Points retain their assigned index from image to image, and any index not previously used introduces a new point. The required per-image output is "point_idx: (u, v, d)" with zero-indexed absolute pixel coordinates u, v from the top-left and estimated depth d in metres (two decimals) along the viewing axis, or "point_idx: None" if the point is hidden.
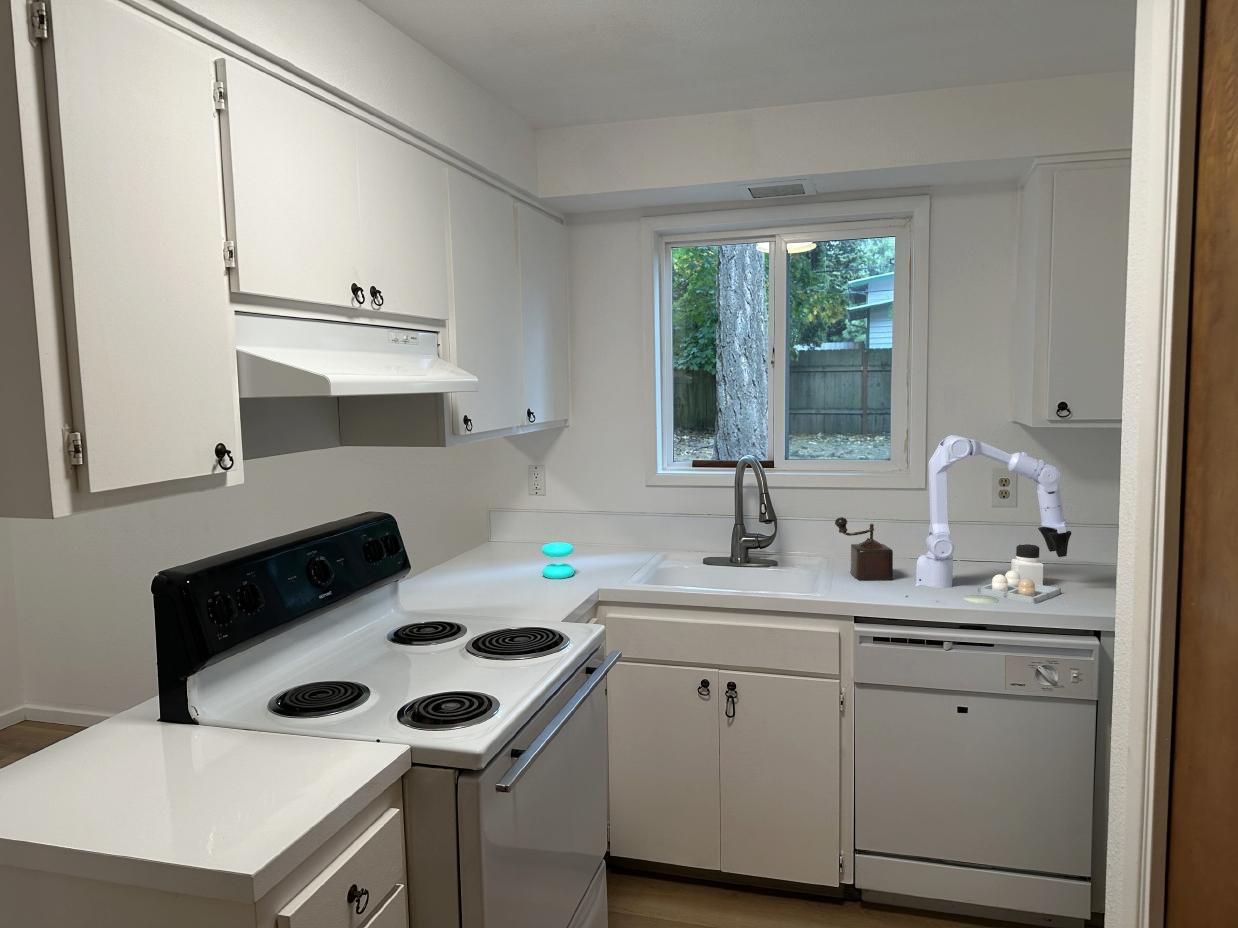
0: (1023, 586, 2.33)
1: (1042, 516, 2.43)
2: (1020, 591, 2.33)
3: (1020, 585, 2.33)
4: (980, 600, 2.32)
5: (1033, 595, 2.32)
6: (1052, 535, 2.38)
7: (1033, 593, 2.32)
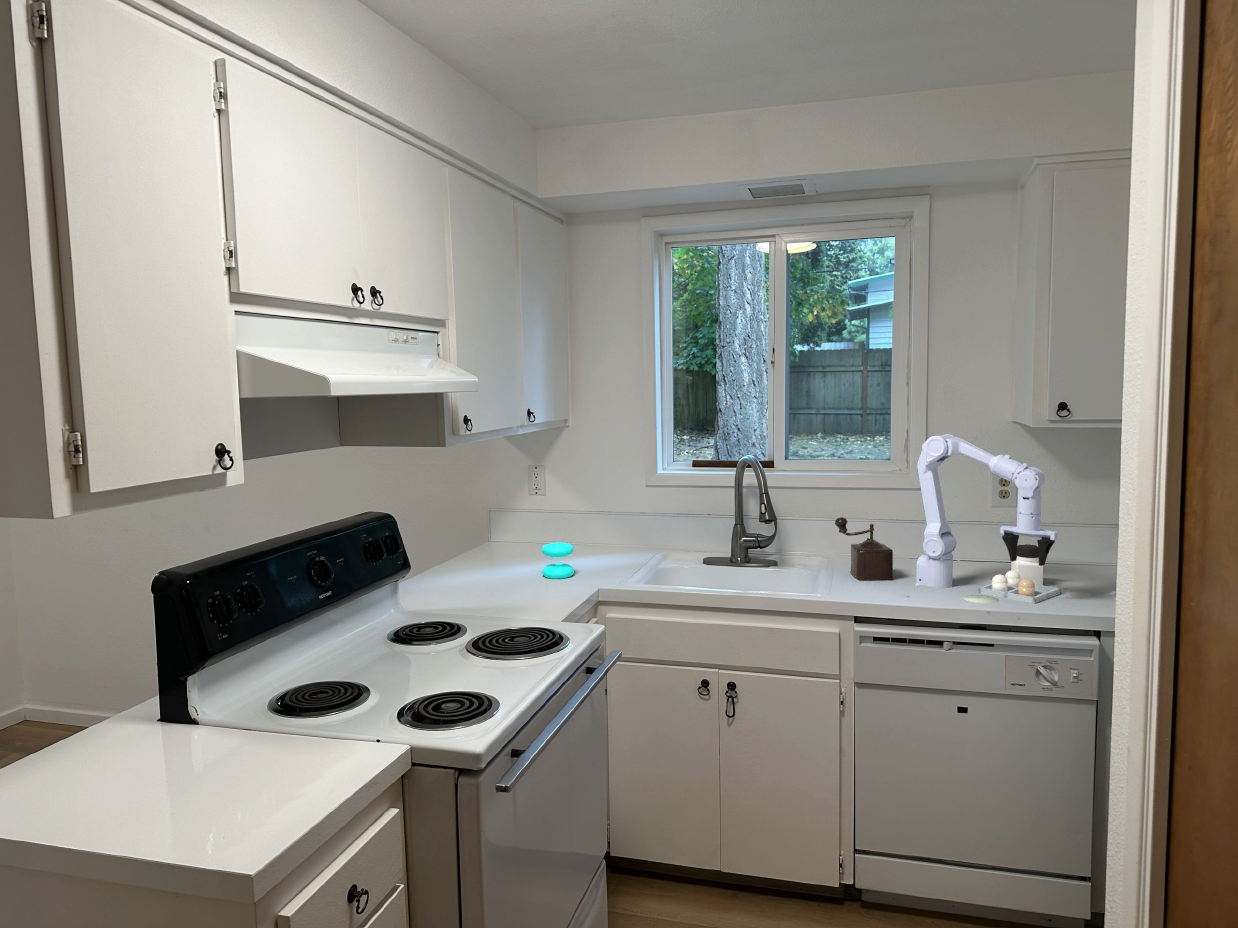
0: (1023, 586, 2.33)
1: (1026, 523, 2.30)
2: (1020, 591, 2.33)
3: (1020, 585, 2.33)
4: (980, 600, 2.32)
5: (1033, 595, 2.32)
6: (1047, 542, 2.27)
7: (1033, 593, 2.32)
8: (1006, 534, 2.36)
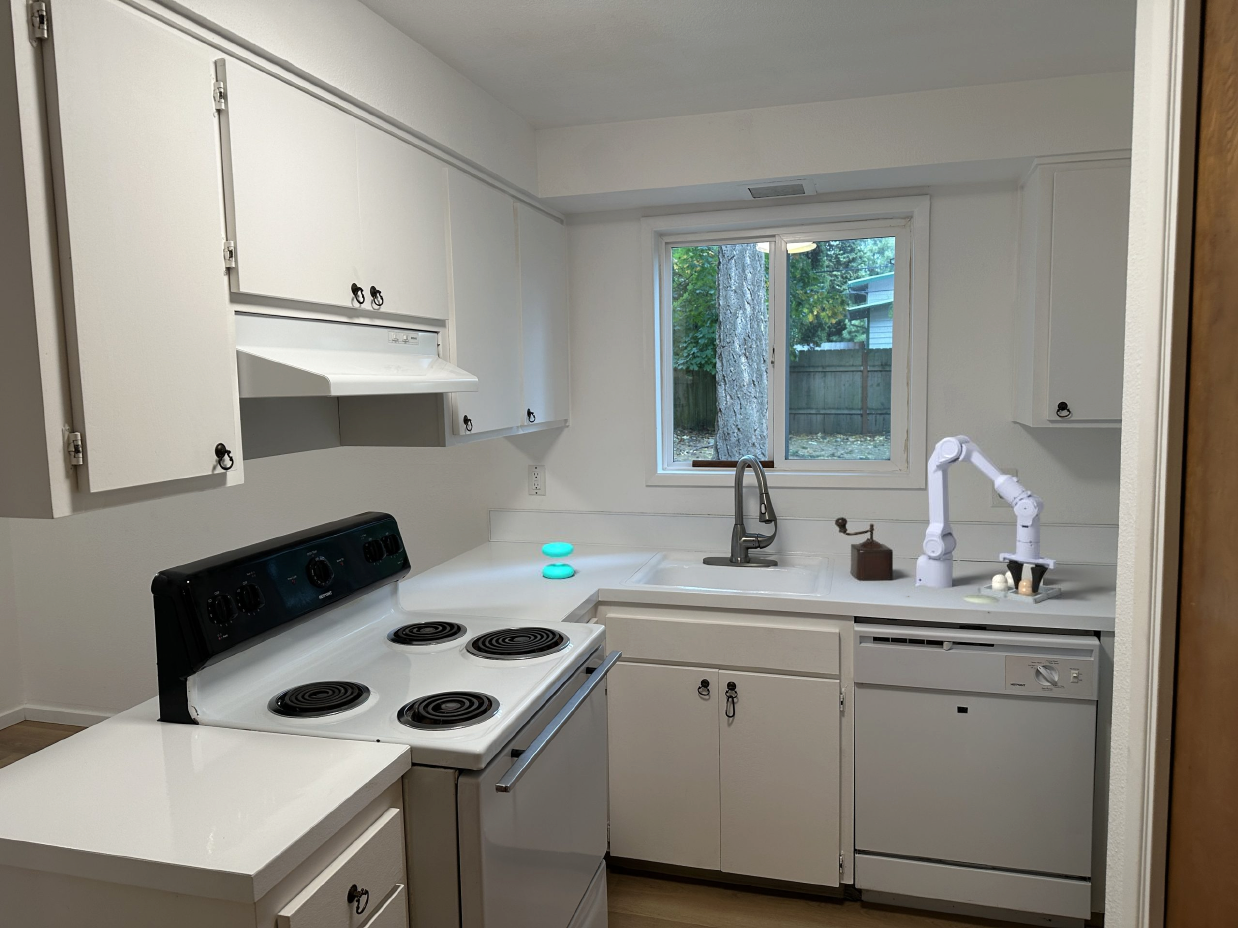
0: (1023, 586, 2.33)
1: (1025, 551, 2.31)
2: (1020, 591, 2.33)
3: (1020, 585, 2.33)
4: (980, 600, 2.32)
5: (1033, 595, 2.32)
6: (1040, 570, 2.28)
7: (1033, 593, 2.32)
8: (1011, 562, 2.36)
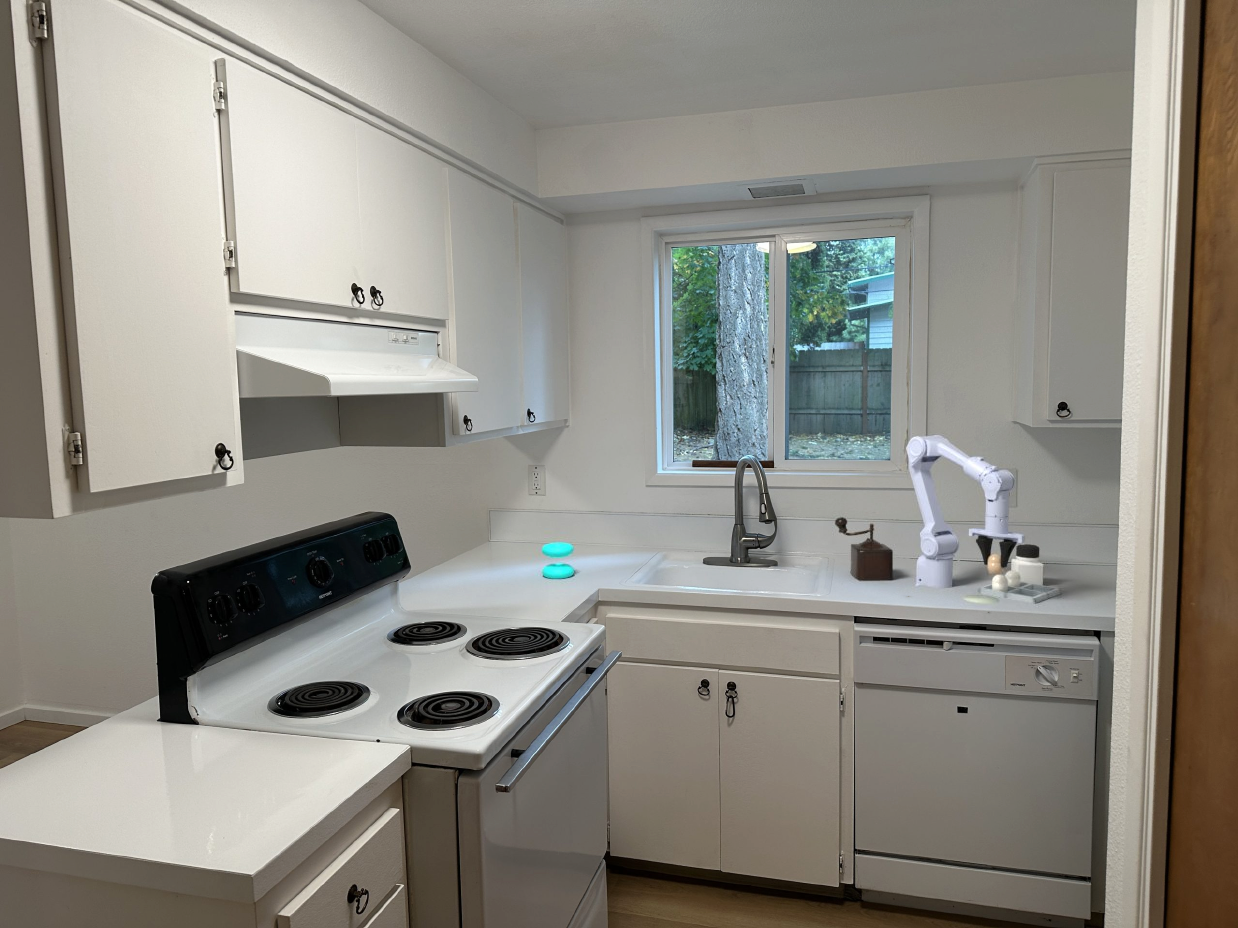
0: (992, 561, 2.32)
1: (994, 525, 2.30)
2: (989, 566, 2.33)
3: (989, 560, 2.33)
4: (980, 600, 2.32)
5: (1002, 570, 2.32)
6: (1008, 544, 2.28)
7: (1002, 568, 2.32)
8: (980, 537, 2.35)
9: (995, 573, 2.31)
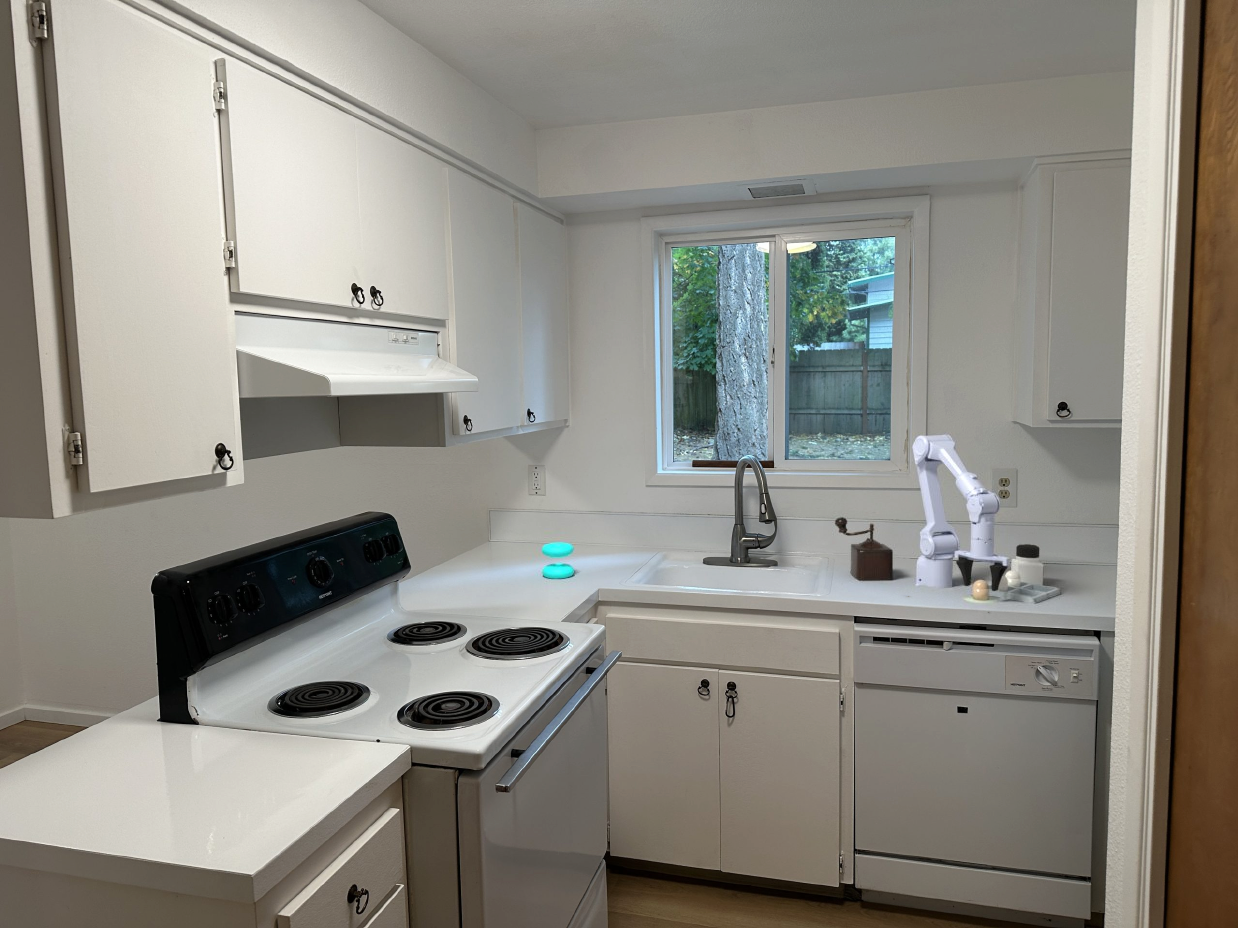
0: (977, 587, 2.32)
1: (979, 548, 2.30)
2: (974, 592, 2.33)
3: (974, 586, 2.33)
4: None
5: (987, 596, 2.32)
6: (999, 568, 2.27)
7: (987, 594, 2.32)
8: (960, 559, 2.36)
9: (980, 599, 2.32)
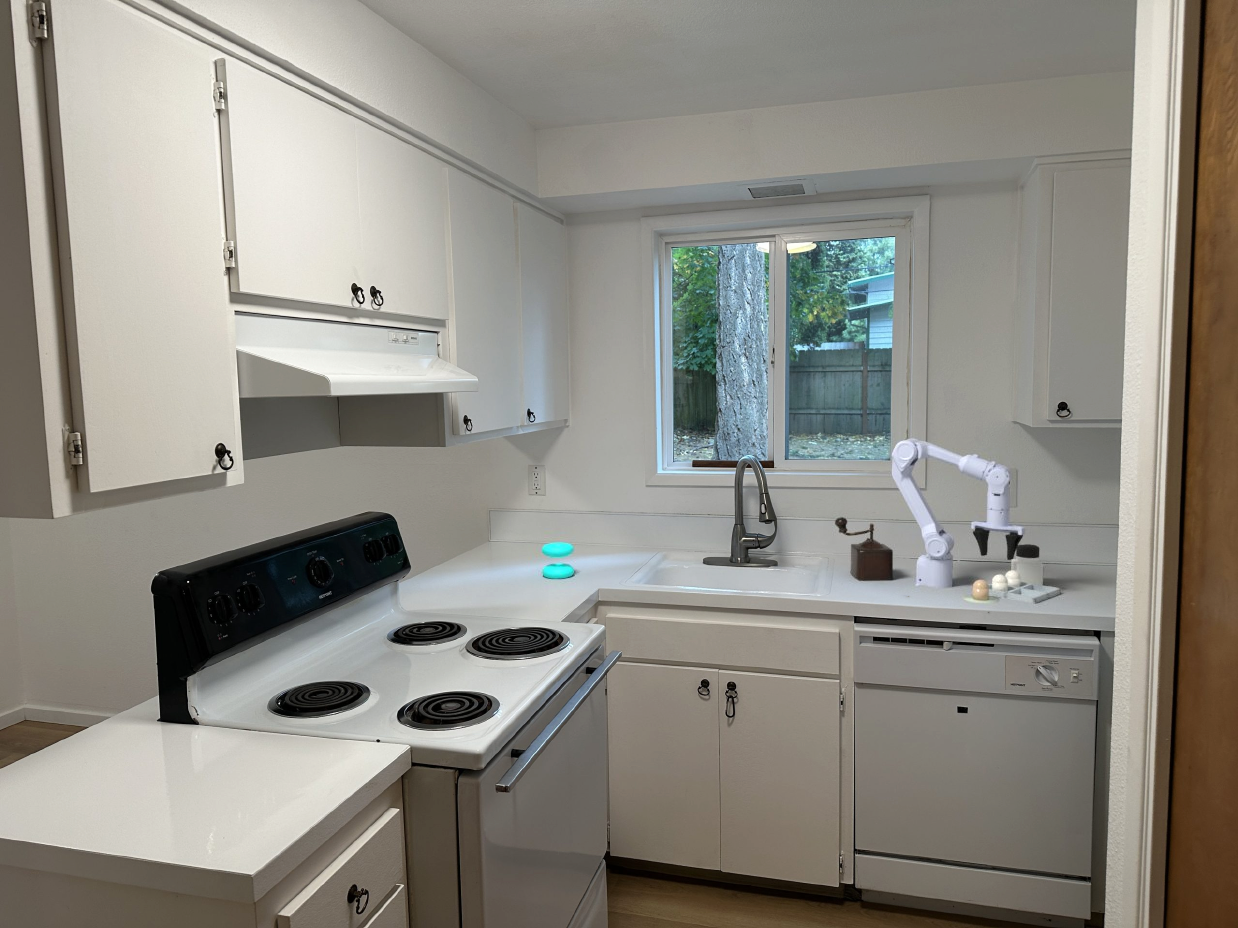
0: (977, 587, 2.32)
1: (995, 518, 2.38)
2: (974, 592, 2.33)
3: (974, 586, 2.33)
4: None
5: (987, 596, 2.32)
6: (1014, 537, 2.35)
7: (987, 594, 2.32)
8: (977, 529, 2.44)
9: (980, 599, 2.32)
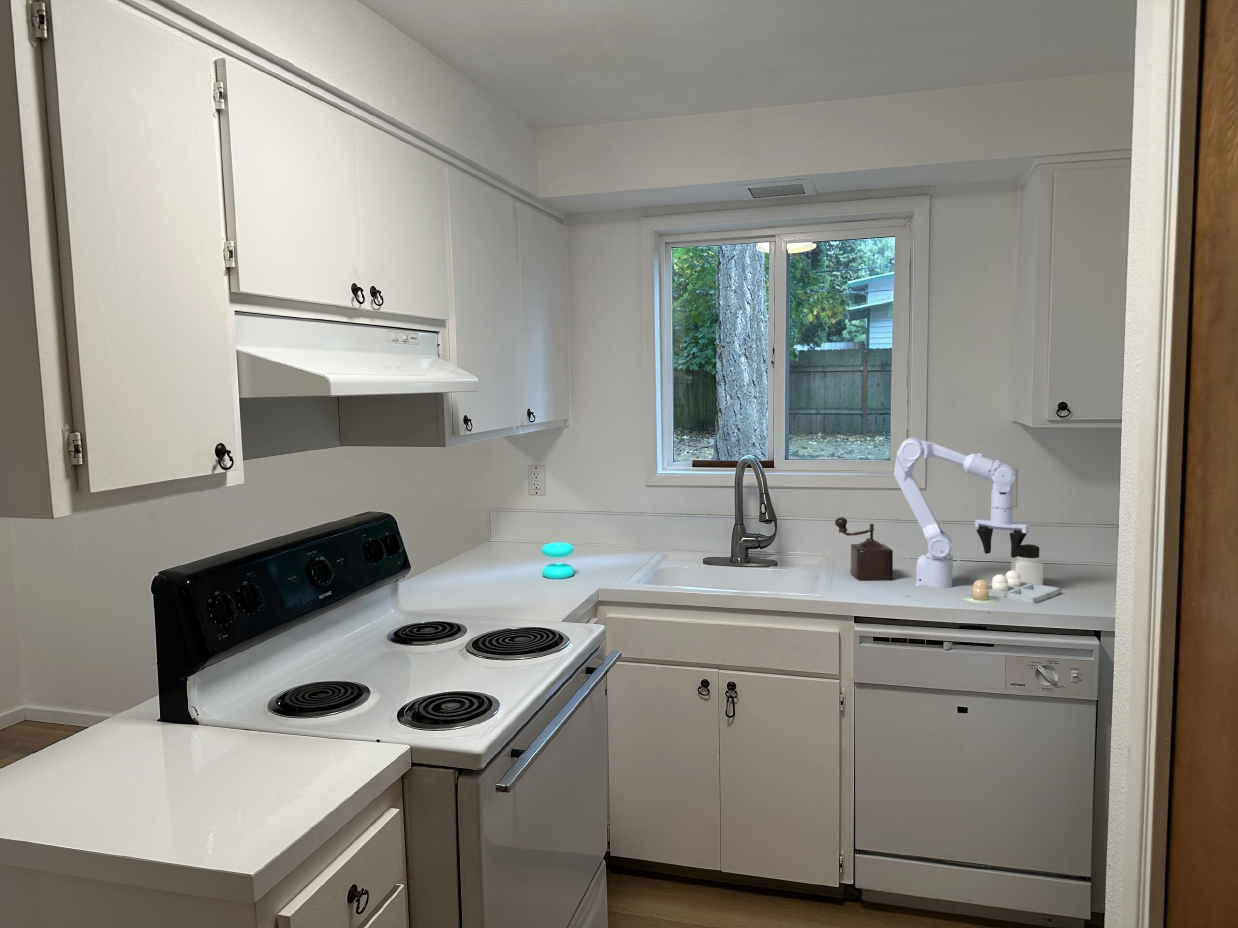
0: (977, 587, 2.32)
1: (999, 516, 2.40)
2: (974, 592, 2.33)
3: (974, 586, 2.33)
4: None
5: (987, 596, 2.32)
6: (1018, 535, 2.37)
7: (987, 594, 2.32)
8: (980, 527, 2.47)
9: (980, 599, 2.32)
